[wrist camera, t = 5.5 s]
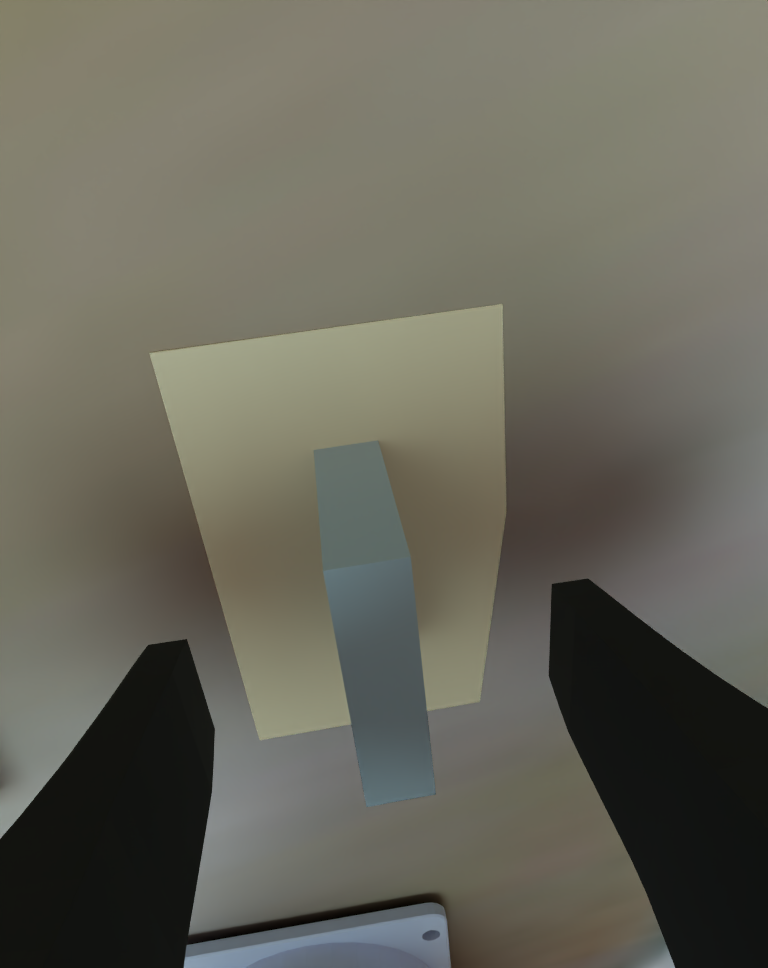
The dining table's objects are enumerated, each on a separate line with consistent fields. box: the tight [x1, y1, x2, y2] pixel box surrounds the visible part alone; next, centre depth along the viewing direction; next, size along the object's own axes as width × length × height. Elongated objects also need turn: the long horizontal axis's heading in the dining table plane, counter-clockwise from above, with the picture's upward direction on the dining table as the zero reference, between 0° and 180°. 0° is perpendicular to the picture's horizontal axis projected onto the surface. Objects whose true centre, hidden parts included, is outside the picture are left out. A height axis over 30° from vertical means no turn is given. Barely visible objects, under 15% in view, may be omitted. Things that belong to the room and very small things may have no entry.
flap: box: [150, 304, 507, 807], centre depth 12 cm, size 9×6×4 cm, turn 6°
